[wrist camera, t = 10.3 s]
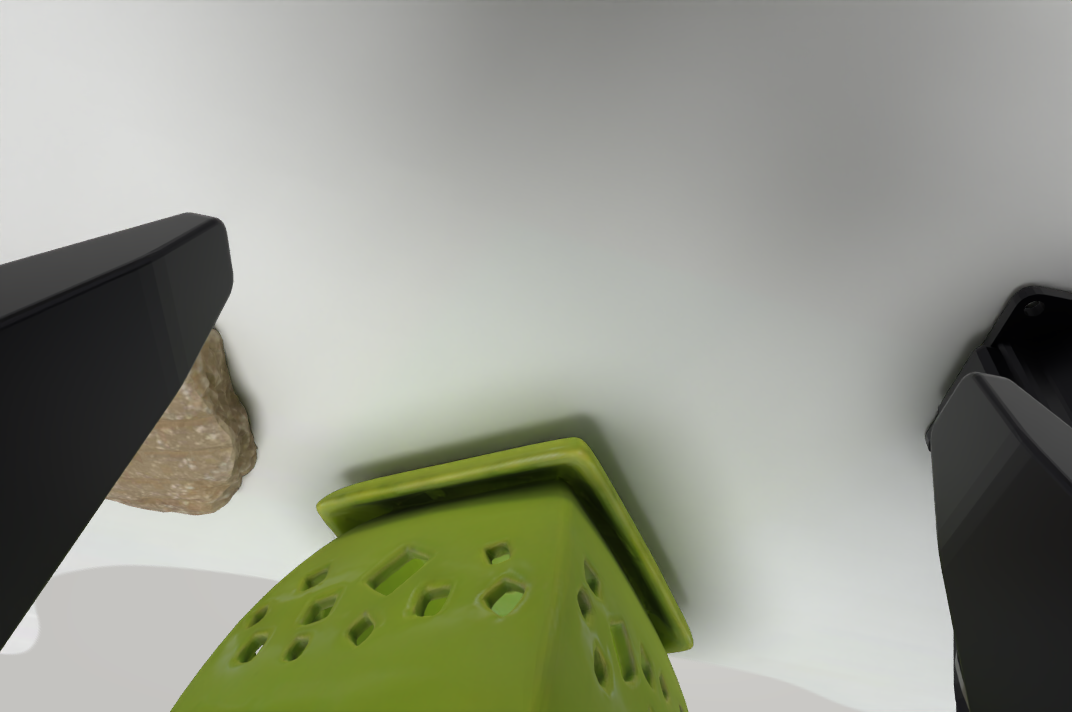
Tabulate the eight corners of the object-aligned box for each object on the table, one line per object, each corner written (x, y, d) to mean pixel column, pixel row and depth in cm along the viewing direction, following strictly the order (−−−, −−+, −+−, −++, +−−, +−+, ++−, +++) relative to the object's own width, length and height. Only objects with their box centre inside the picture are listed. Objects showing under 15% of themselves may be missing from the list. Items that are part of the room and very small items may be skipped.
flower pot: (605, 374, 26) (544, 739, 17) (729, 611, 33) (739, 970, 23) (298, 455, 32) (115, 764, 22) (459, 644, 39) (374, 945, 29)
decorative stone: (-123, 292, 31) (-202, 342, 28) (227, 309, 28) (177, 366, 25) (-4, 464, 37) (-60, 519, 34) (295, 492, 34) (260, 555, 31)
